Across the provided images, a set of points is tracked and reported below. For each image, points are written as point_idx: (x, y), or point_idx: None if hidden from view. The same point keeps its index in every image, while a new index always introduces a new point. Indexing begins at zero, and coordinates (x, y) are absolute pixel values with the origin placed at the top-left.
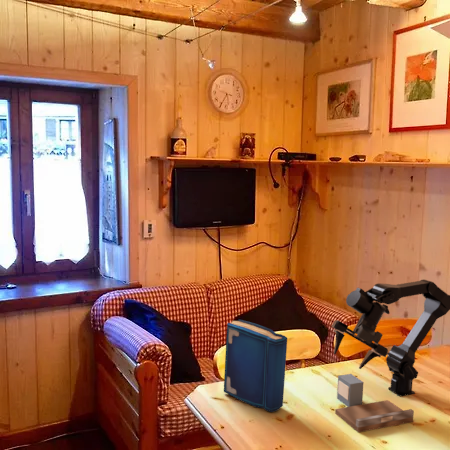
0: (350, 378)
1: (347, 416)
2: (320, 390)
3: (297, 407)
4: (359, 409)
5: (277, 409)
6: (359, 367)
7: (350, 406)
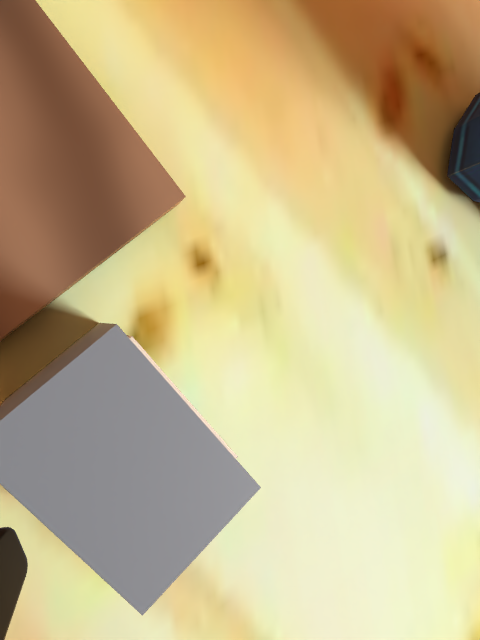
0: (133, 480)
1: (90, 102)
2: (305, 494)
3: (378, 216)
4: (10, 244)
5: (459, 122)
6: (14, 561)
7: (86, 270)
